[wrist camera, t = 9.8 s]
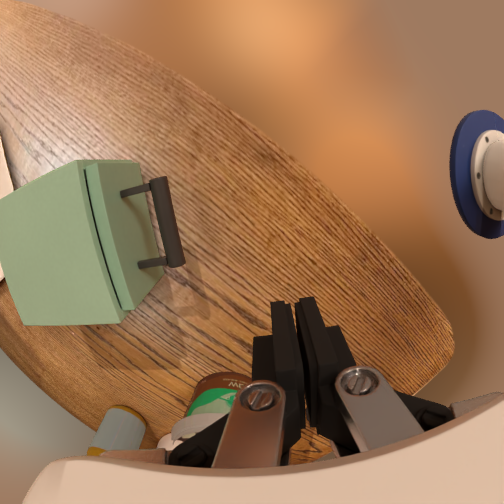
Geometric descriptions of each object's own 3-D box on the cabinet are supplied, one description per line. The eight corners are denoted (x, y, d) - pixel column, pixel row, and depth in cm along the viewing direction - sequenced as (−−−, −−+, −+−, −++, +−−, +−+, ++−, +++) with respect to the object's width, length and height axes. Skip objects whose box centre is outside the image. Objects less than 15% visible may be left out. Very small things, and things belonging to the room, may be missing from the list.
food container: (288, 376, 32) (297, 439, 22) (272, 406, 33) (275, 464, 24) (191, 353, 31) (172, 415, 21) (184, 386, 33) (167, 443, 23)
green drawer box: (131, 159, 24) (76, 159, 15) (158, 277, 28) (120, 323, 19) (43, 193, 25) (-13, 207, 16) (69, 289, 29) (23, 325, 20)
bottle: (110, 419, 36) (81, 481, 22) (108, 397, 34) (72, 466, 20) (146, 433, 37) (123, 500, 23) (148, 413, 35) (120, 488, 21)
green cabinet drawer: (178, 151, 23) (146, 145, 16) (202, 268, 27) (183, 305, 19) (50, 194, 24) (4, 205, 17) (75, 286, 28) (37, 316, 20)
